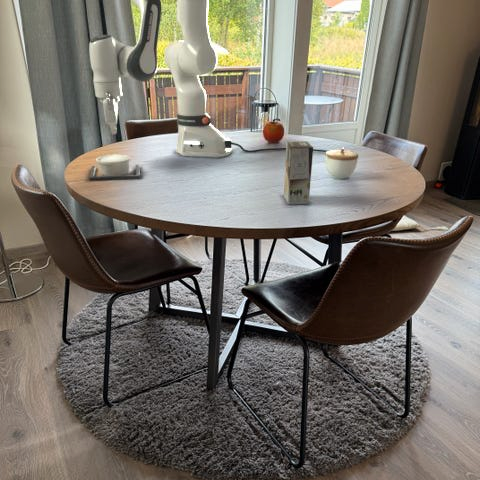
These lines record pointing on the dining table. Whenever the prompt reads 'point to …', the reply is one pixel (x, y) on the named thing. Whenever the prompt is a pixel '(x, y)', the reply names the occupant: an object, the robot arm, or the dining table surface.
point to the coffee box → (298, 172)
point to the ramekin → (113, 165)
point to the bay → (92, 178)
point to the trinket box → (341, 163)
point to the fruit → (273, 131)
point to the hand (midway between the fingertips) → (114, 133)
